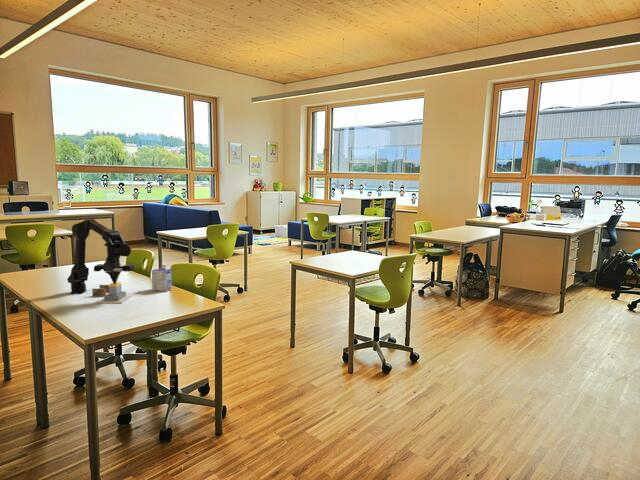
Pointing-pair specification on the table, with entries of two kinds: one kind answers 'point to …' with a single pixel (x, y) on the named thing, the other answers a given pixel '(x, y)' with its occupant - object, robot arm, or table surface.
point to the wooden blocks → (100, 290)
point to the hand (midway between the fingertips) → (114, 283)
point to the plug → (115, 289)
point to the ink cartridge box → (161, 279)
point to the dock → (115, 299)
